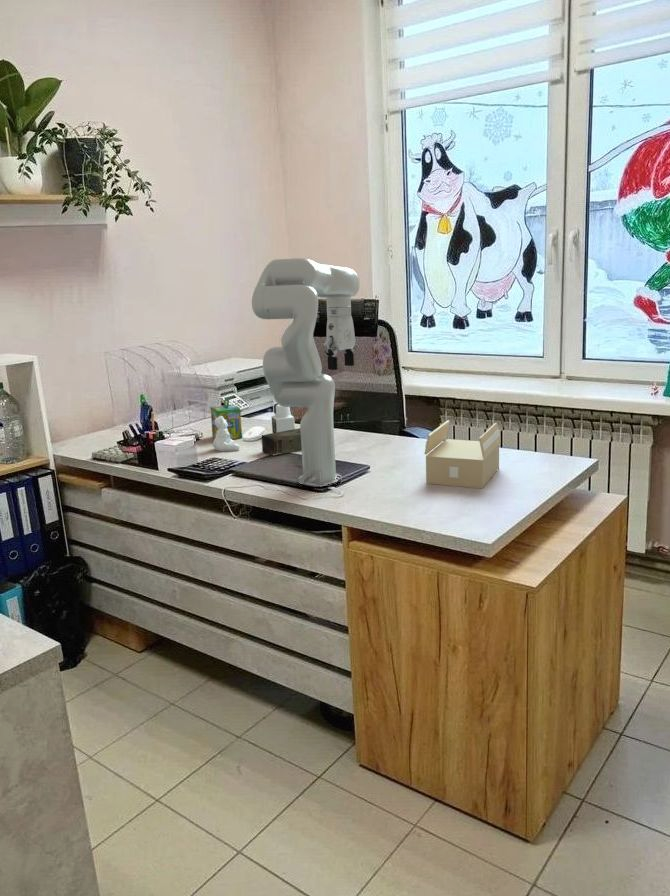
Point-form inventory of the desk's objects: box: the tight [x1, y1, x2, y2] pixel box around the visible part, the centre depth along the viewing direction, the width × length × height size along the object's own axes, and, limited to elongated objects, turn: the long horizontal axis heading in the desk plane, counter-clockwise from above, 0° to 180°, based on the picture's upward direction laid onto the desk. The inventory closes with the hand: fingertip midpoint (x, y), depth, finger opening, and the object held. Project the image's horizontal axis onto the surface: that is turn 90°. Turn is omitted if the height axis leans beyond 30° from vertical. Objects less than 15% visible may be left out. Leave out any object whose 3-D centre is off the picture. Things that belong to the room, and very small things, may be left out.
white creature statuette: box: [212, 416, 240, 452], centre depth 251 cm, size 10×9×12 cm
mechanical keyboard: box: [90, 429, 202, 464], centre depth 258 cm, size 38×19×3 cm, turn 148°
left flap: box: [424, 419, 450, 456], centre depth 210 cm, size 19×6×1 cm
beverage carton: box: [261, 427, 302, 456], centre depth 248 cm, size 8×19×7 cm, turn 127°
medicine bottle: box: [271, 402, 296, 433], centre depth 268 cm, size 7×7×12 cm
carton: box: [425, 438, 500, 489], centre depth 208 cm, size 20×16×8 cm
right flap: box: [478, 422, 501, 459], centre depth 203 cm, size 19×6×1 cm
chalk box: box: [210, 397, 243, 440], centre depth 268 cm, size 9×9×15 cm
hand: (341, 367), depth 229 cm, fingers open, 9 cm apart
